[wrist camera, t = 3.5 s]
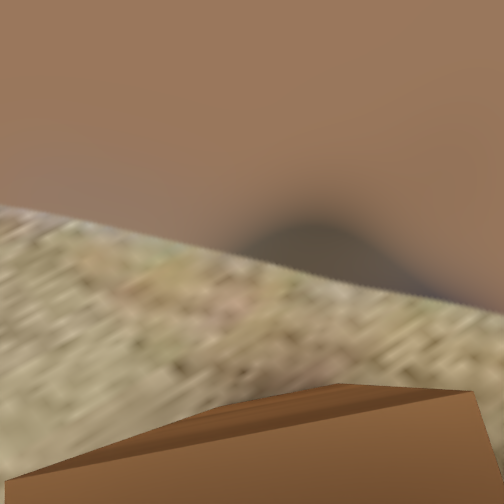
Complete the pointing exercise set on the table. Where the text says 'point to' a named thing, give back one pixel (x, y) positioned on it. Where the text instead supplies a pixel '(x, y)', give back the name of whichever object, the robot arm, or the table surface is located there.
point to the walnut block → (292, 454)
